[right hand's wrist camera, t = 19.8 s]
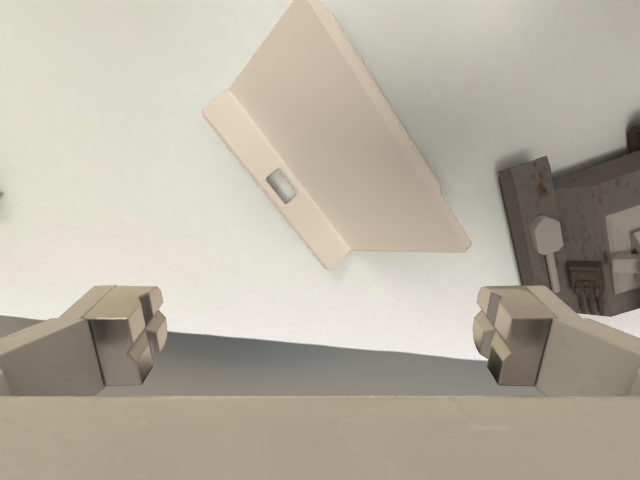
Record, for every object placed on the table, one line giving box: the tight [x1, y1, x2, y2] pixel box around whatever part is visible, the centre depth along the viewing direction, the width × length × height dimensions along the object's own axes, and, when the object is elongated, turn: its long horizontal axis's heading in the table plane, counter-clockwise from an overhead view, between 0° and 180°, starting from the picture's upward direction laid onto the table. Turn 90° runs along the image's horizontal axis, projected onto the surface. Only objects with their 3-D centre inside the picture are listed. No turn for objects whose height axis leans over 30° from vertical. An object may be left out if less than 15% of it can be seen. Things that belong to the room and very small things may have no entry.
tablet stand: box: [202, 0, 472, 269], centre depth 41 cm, size 18×25×17 cm
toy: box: [499, 124, 640, 317], centre depth 45 cm, size 25×20×15 cm
